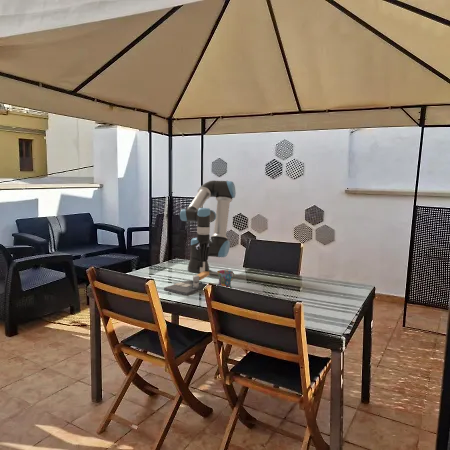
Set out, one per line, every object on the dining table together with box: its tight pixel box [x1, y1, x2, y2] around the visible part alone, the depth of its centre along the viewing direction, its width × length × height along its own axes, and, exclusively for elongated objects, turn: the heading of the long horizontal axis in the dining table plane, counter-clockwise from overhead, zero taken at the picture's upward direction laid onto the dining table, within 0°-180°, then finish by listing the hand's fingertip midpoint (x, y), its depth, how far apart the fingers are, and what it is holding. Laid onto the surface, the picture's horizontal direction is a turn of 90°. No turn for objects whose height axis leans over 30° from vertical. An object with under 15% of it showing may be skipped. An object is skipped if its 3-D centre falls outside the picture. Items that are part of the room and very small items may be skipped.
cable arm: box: [192, 271, 210, 282], centre depth 224 cm, size 4×17×3 cm, turn 160°
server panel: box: [163, 279, 208, 296], centre depth 221 cm, size 22×16×5 cm
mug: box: [216, 269, 235, 289], centre depth 221 cm, size 12×9×11 cm
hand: (202, 272), depth 234 cm, fingers closed
